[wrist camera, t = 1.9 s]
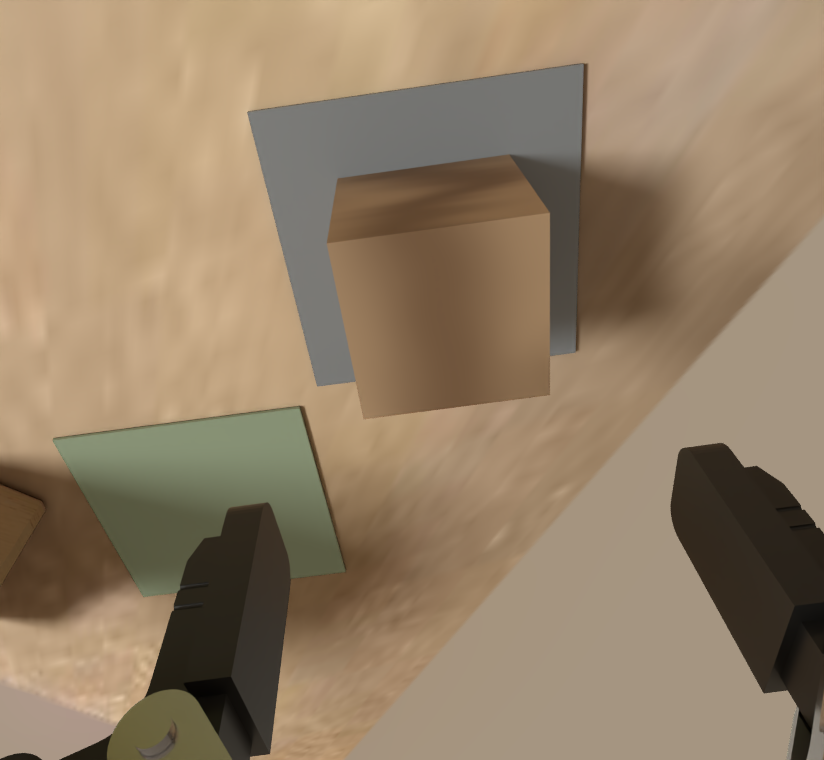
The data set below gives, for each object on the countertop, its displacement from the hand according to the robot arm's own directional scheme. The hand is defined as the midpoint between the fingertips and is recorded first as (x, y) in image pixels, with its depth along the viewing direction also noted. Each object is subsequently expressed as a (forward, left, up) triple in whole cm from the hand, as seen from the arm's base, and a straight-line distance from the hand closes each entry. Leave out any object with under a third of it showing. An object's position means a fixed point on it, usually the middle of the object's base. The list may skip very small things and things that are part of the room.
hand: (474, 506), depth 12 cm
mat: (+12, +12, -13) cm, 21 cm away
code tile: (0, 0, -13) cm, 13 cm away
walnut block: (0, 0, -13) cm, 13 cm away
